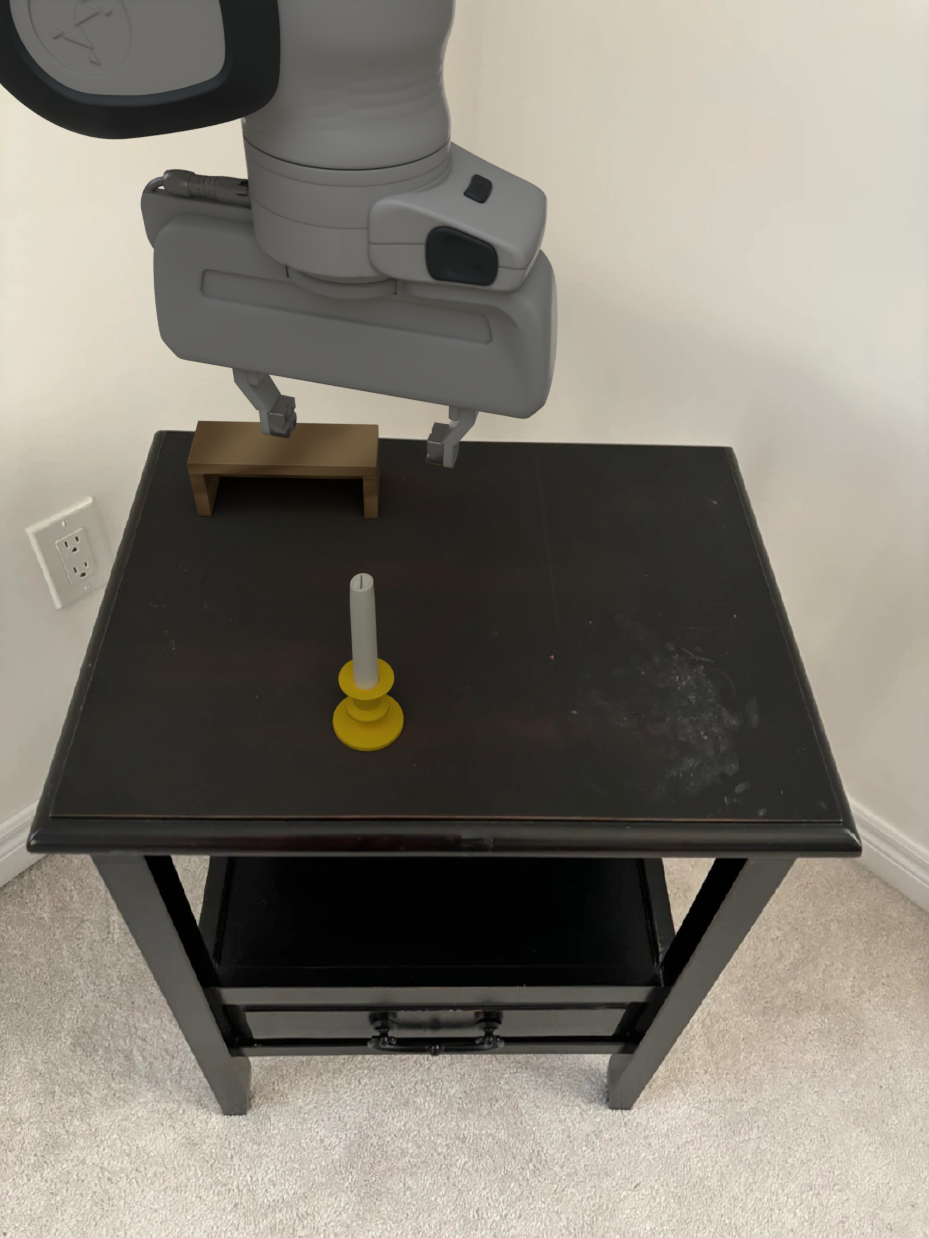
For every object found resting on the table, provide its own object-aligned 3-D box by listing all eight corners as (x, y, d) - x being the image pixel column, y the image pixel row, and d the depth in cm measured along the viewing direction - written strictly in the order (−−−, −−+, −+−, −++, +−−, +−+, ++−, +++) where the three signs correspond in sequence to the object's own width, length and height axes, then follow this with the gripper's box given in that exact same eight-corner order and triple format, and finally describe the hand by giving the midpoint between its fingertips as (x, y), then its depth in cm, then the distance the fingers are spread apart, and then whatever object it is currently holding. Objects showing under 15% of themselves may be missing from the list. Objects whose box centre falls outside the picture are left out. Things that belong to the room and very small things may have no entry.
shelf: (198, 516, 83) (186, 462, 79) (208, 473, 87) (197, 420, 83) (377, 518, 84) (376, 466, 80) (379, 476, 88) (378, 424, 84)
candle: (356, 763, 67) (346, 618, 55) (320, 714, 69) (303, 566, 58) (417, 730, 69) (420, 584, 57) (379, 684, 71) (375, 535, 60)
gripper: (100, 191, 41) (161, 446, 51) (561, 263, 38) (527, 514, 49) (162, 137, 45) (207, 382, 55) (581, 199, 43) (546, 443, 53)
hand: (360, 445), depth 52 cm, fingers open, 8 cm apart
